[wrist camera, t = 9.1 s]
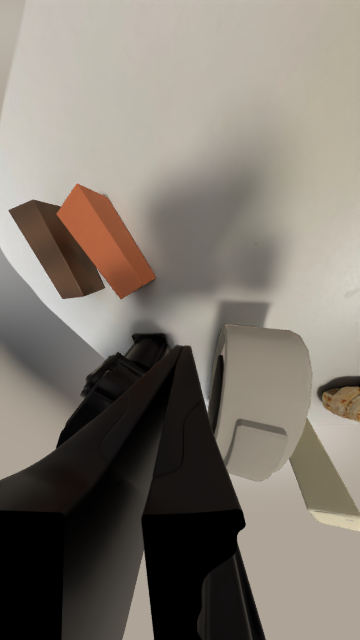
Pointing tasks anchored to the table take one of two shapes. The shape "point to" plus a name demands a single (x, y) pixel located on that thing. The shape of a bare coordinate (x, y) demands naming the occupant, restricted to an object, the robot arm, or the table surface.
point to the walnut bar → (57, 249)
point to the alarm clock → (259, 398)
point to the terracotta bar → (105, 240)
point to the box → (322, 483)
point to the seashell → (343, 402)
